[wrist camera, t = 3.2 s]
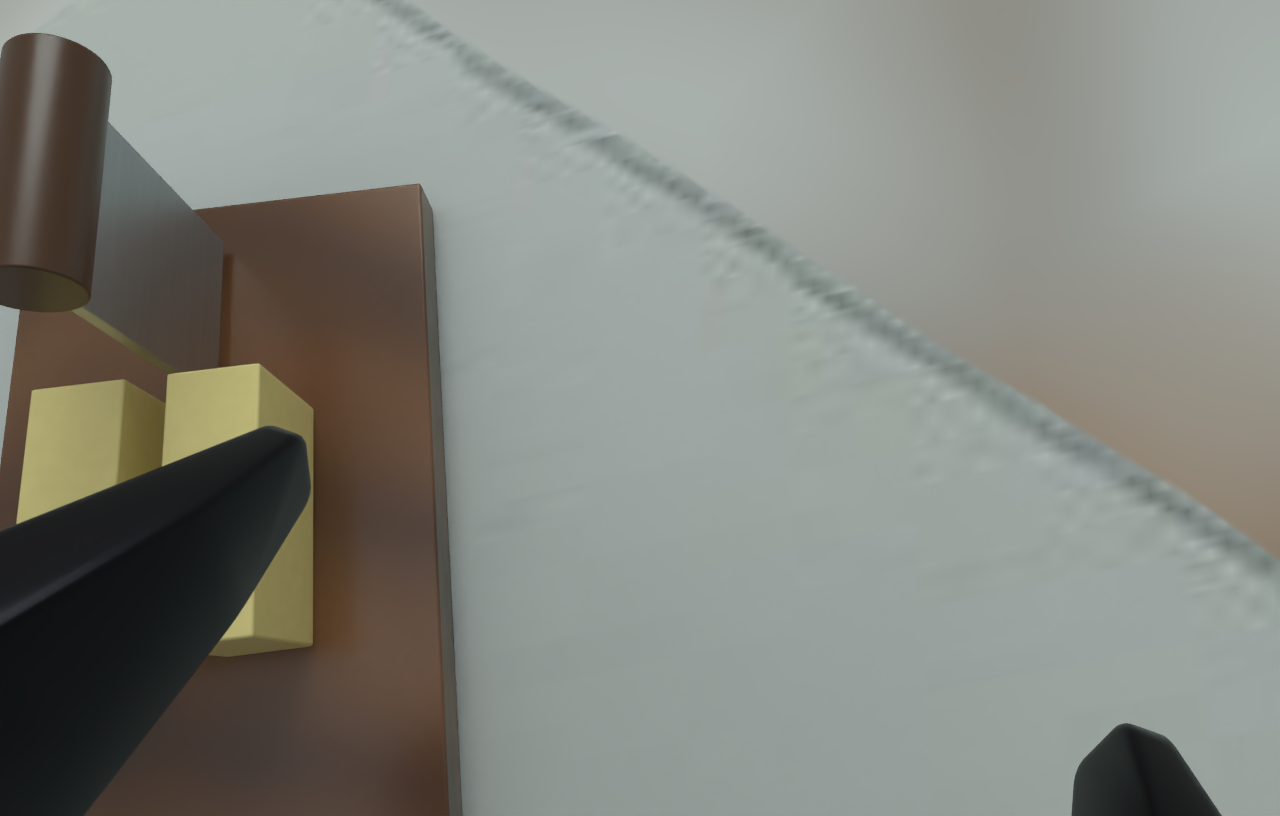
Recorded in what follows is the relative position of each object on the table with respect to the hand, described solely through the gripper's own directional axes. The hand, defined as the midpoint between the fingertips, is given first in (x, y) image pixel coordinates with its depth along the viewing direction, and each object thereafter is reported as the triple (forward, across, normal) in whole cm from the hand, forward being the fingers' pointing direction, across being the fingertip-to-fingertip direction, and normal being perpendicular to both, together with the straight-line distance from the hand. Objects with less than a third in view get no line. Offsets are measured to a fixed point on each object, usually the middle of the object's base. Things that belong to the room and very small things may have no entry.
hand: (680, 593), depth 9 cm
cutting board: (+7, +13, +13) cm, 19 cm away
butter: (+6, +12, +12) cm, 18 cm away
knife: (+11, +15, +8) cm, 21 cm away
